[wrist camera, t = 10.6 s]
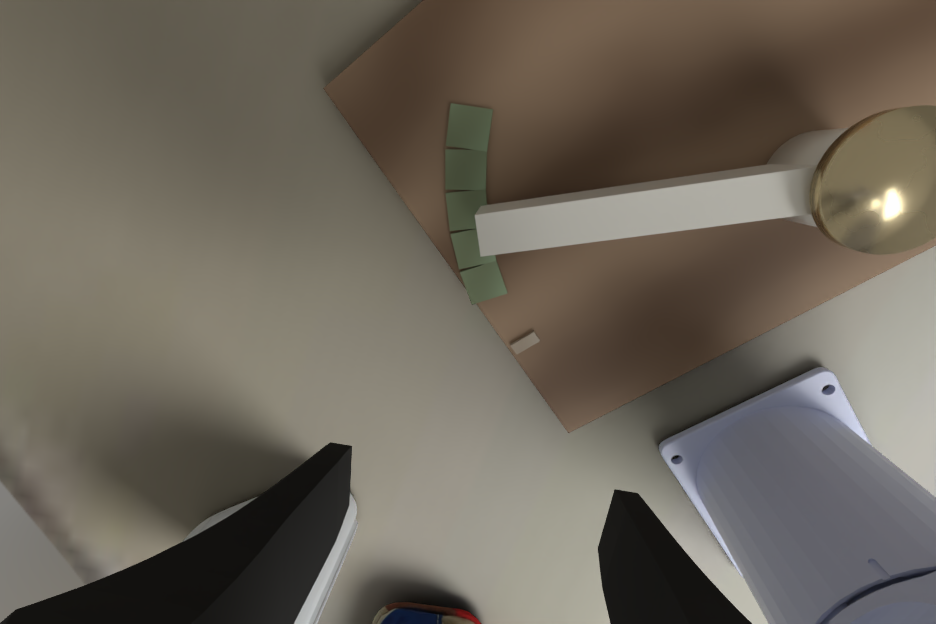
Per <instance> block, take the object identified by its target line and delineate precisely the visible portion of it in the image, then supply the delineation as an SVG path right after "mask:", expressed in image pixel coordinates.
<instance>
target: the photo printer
mask: <svg viewBox="0 0 936 624" xmlns="http://www.w3.org/2000/svg"><path fill="white" fill-rule="evenodd" d="M255 498H257V497H255ZM255 498H253V499H250V500H248V501H245V502H243V503H240V504H238V505H235V506H233V507H230V508H228V509H226V510H223V511H221V512H219V513H217V514H215V515H213V516H211V517H209V518H207V519H206V520H204V521H203V522H202V523H200V524H199V525H198V526H197V527H196V528H195V529H194V530H192V531H191V533H190V534H189V535H188V536H187V537H186V538H185V539H184V540H183V541H185V540H187V539H189V538H191V537H193V536H195V535H197V534H199V533H201V532H202V531H204V530H206V529H208V528H209V527H211V526H213V525H215V524H216V523H218V522H220V521H222V520H223V519H225V518H227V517H228V516H230V515H231V514H233V513H235V512H236V511H238V510H239V509H241V508H242V507H244V506H245V505H247V504H248V503H250V502H251V501H253V500H254V499H255ZM356 514H357V506H356V502H355V500H354V498H353V496H352V494H351V493H350V503H349V508H348V510H347V513H346V516H345V519H344V521H343V524H342V527H341V529H340V532H339V535H338V537H337V540H336V542H335V544H334V546H333V548H332V550H331V552H330V554H329V556H328V558H327V560H326V562H325V564H324V566H323V568H322V570H321V572H320V574H319V576H318V578H317V580H316V582H315V583H314V585H313V587H312V589H311V591H310V593H309V595H308V597H307V599H306V601H305V603H304V605H303V607H302V609H301V611H300V613H299V615H298V617H297V619H296V620H295V622H294V624H317V623H318V620H319V618H320V615H321V613H322V611H323V609H324V606H325V604H326V601H327V599H328V597H329V594H330V592H331V590H332V587H333V585H334V583H335V580H336V578H337V576H338V573H339V571H340V569H341V566H342V564H343V562H344V559H345V557H346V554H347V552H348V550H349V547H350V545H351V543H352V540H353V538H354V535H355V533H356V530H357V526H358V521H357V520H356Z"/></svg>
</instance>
